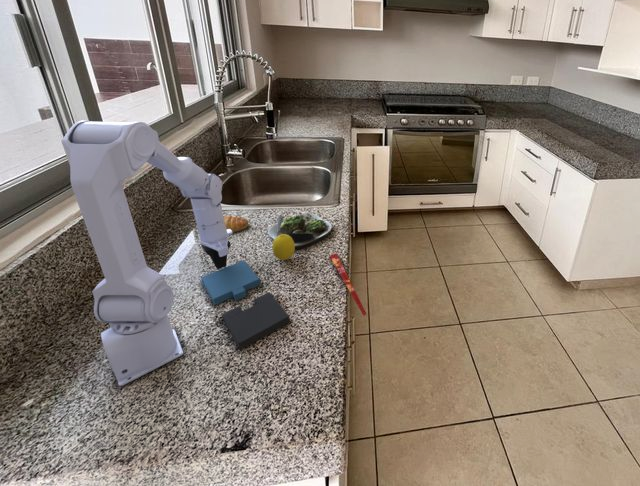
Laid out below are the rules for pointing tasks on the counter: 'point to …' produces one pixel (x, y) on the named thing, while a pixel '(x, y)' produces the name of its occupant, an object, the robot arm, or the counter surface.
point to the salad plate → (302, 229)
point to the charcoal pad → (255, 320)
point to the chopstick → (346, 280)
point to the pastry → (235, 223)
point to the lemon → (283, 247)
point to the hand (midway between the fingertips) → (221, 266)
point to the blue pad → (230, 282)
